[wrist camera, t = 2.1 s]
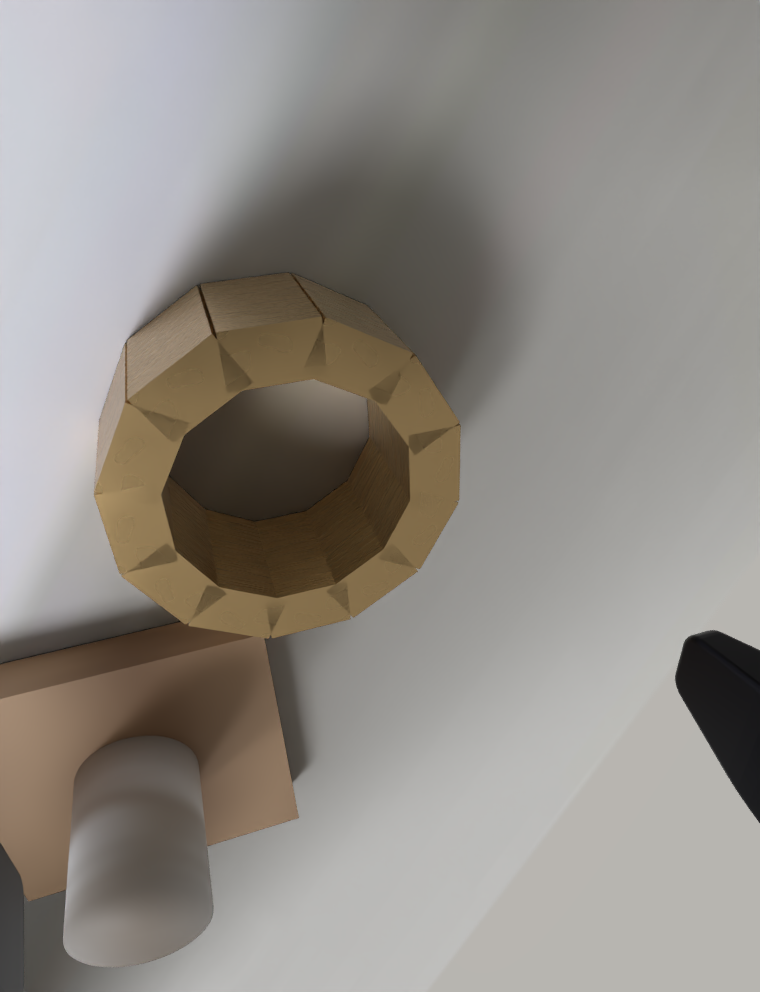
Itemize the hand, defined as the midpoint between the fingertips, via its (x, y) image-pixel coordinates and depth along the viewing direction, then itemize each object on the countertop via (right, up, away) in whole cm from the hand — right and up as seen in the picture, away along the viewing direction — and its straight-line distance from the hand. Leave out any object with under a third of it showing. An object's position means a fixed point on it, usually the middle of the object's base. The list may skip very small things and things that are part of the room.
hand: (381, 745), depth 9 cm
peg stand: (-7, -4, +11) cm, 14 cm away
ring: (-3, +5, +7) cm, 9 cm away
